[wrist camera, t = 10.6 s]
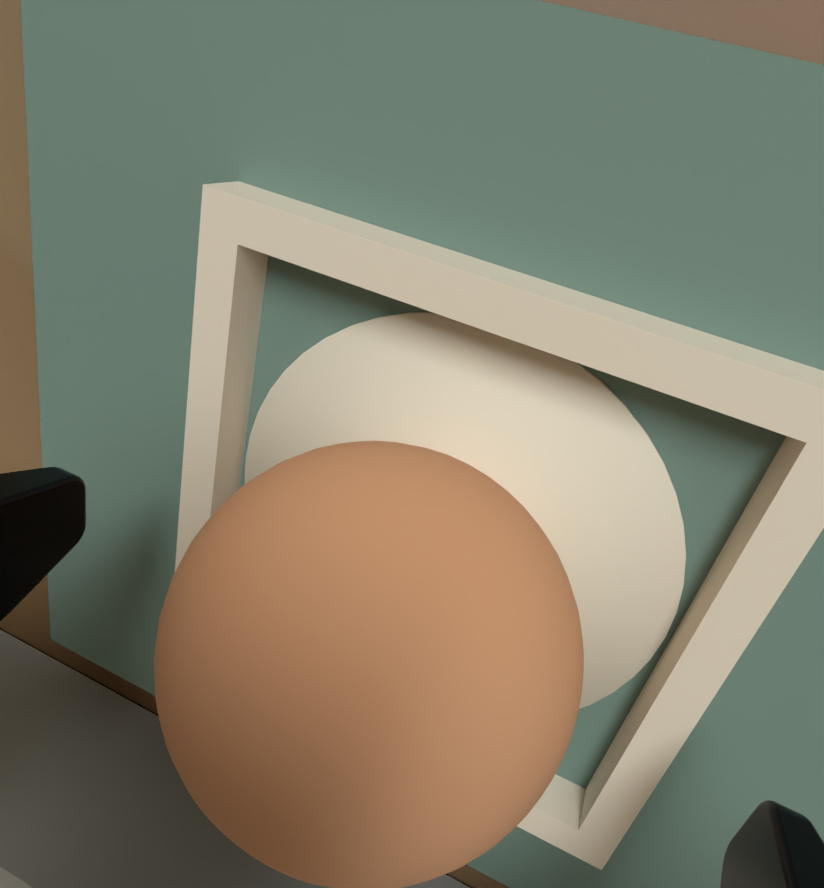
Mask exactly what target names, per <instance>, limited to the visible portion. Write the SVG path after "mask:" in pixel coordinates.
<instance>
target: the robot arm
mask: <svg viewBox="0 0 824 888" xmlns="http://www.w3.org/2000/svg"><path fill="white" fill-rule="evenodd" d="M85 528H86V488H85V483H84V481H83V479H81V478H80V477H79V476H77V475H75V474H73V473H70V472H68V471H66V470H64V469H62V468H58V467H46V468H39V469H32V470H24V471H17V472H10V473H3V474H0V621H1V620H2V619H3V618H4V617H5V616H6V615H7V614H9V613H10V612H11V611H12V610H13V609H14V608H15V607H16V606H17V605H18V604H19V602H20V601H21V600H22V599H23V598H24V597H25V596H26V595H27V594H28V593H29V592H30V591H31V590H32V589H33V588H34V587H35V586H36V585H37V584H38V583H39V582H40V581H41V580H42V579H43V578H44V577H45V576H46V575H47V574H48V573H49V572H50V571H51V570H52V569H53V568H54V567H55V566H56V565H57V564H58V563H59V562H60V561H61V560H62V559H63V558H64V557H65V556H66V555H67V554H68V553H69V552H70V551H71V550H72V549H73V548H74V547H75V546H76V545H77V543H78V542H79V541H80V539H81V538H82V536H83V534H84V532H85ZM720 888H824V842H823V840H822V839H821V837H820V835H819V834H818V832H817V830H816V829H815V827H814V826H813V824H812V823H811V822H810V820H809V819H808V818H807V817H805V816H804V815H802V814H800V813H798V812H796V811H794V810H792V809H790V808H787V807H785V806H783V805H781V804H779V803H777V802H775V801H771V800H766V801H763V802H761V803H760V804H759V805H758V806H757V807H756V809H755V810H754V811H753V813H752V814H751V815H750V816H749V818H748V819H747V820H746V822H745V823H744V824H743V825H742V827H741V828H740V829H739V830H738V832H737V833H736V834H735V836H734V837H733V838H732V840H731V841H730V843H729V845H728V847H727V849H726V852H725V856H724V860H723V866H722V875H721V884H720Z"/></svg>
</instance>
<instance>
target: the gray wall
mask: <svg viewBox="0 0 824 888" xmlns="http://www.w3.org/2000/svg"><path fill="white" fill-rule="evenodd" d="M0 888H332V887H325V886H319V885H315V884H311V883H306V882H304V881H301V880H298V879H295V878H292V877H290V876H287V875H285V874H283V873H280V872H278V871H276V870H274V869H272V868H271V867H269V866H267V865H265V864H263V863H262V862H260V861H258V860H257V859H255V858H254V857H252V856H250V855H249V854H248V853H246V852H245V851H244V850H242V849H241V848H239V847H238V846H237V845H236V844H234V843H233V842H232V841H231V840H230V839H228V838H227V837H226V836H225V835H224V834H223V833H222V832H221V831H220V830H219V829H218V828H217V827H216V826H215V825H214V824H213V823H212V822H211V821H210V820H209V819H208V818H207V817H206V815H205V814H204V813H203V812H202V810H201V809H200V808H199V807H198V805H197V804H196V803H195V801H194V800H193V798H192V797H191V795H190V794H189V792H188V790H187V789H186V787H185V785H184V783H183V781H182V779H181V777H180V775H179V773H178V771H177V769H176V767H175V765H174V763H173V761H172V759H171V756H170V754H169V752H168V749H167V746H166V743H165V740H164V736H163V733H162V729H161V724H160V720H159V717H158V716H157V715H155V714H153V713H151V712H149V711H148V710H146V709H144V708H142V707H140V706H138V705H137V704H135V703H133V702H131V701H129V700H127V699H126V698H124V697H122V696H120V695H118V694H117V693H115V692H113V691H111V690H109V689H107V688H106V687H104V686H102V685H100V684H98V683H97V682H95V681H93V680H91V679H89V678H87V677H86V676H84V675H82V674H80V673H78V672H77V671H75V670H73V669H71V668H69V667H67V666H66V665H64V664H62V663H60V662H58V661H57V660H55V659H53V658H51V657H49V656H47V655H46V654H44V653H42V652H40V651H38V650H36V649H35V648H33V647H31V646H29V645H27V644H26V643H24V642H22V641H20V640H18V639H16V638H15V637H13V636H11V635H9V634H7V633H6V632H4V631H2V630H0ZM400 888H470V887H468V886H466V885H464V884H462V883H461V882H459V881H457V880H455V879H453V878H451V877H450V876H448V875H446V874H445V875H443V876H440V877H437V878H434V879H431V880H428V881H425V882H422V883H419V884H415V885H411V886H407V887H400Z"/></svg>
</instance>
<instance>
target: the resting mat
mask: <svg viewBox="0 0 824 888" xmlns="http://www.w3.org/2000/svg"><path fill="white" fill-rule="evenodd" d="M21 18H22V40H23V61H24V83H25V104H26V126H27V147H28V169H29V190H30V212H31V233H32V255H33V277H34V298H35V320H36V341H37V363H38V384H39V406H40V427H41V449H42V468H46V467H58V468H62V469H64V470H66V471H68V472H70V473H73V474H75V475H77V476H79V477H80V478H81V479H83V481H84V483H85V488H86V528H85V532H84V534H83V536H82V538H81V539H80V541H79V542H78V543H77V545H76V546H75V547H74V548H73V549H72V550H71V551H70V552H69V553H68V554H67V555H66V556H65V557H64V558H63V559H62V560H61V561H60V562H59V563H58V564H57V565H56V566H55V567H54V568H53V569H52V570H51V571H50V572H49V573H48V574H47V578H48V599H49V621H50V639H51V640H53V641H55V642H56V643H58V644H60V645H62V646H64V647H66V648H67V649H69V650H71V651H73V652H75V653H77V654H78V655H80V656H82V657H84V658H86V659H88V660H90V661H91V662H93V663H95V664H97V665H99V666H101V667H102V668H104V669H106V670H108V671H110V672H112V673H114V674H115V675H117V676H119V677H121V678H123V679H125V680H126V681H128V682H130V683H132V684H134V685H136V686H138V687H139V688H141V689H143V690H145V691H147V692H149V693H150V694H152V695H154V696H155V683H154V653H155V645H156V638H157V631H158V624H159V617H160V614H161V611H162V608H163V605H164V601H165V598H166V595H167V592H168V589H169V586H170V583H171V580H172V577H173V575H174V573H175V571H176V570H177V568H178V566H179V564H180V562H181V560H182V558H183V556H184V554H185V552H186V551H187V549H188V547H189V545H190V543H191V541H192V540H193V539H194V538H195V536H196V535H197V534H198V532H199V531H200V530H201V528H202V527H203V526H204V524H205V523H206V522H207V521H208V519H209V518H210V517H211V516H212V515H213V513H214V512H215V511H216V510H217V509H218V508H219V507H220V506H221V505H222V504H223V503H224V502H225V501H226V500H227V499H228V498H230V497H231V496H232V495H233V494H234V493H235V492H236V491H238V490H239V489H240V488H241V487H242V486H243V485H245V484H246V483H247V482H248V481H250V480H252V479H253V478H255V477H256V476H258V475H260V474H261V473H263V472H265V471H266V470H268V469H270V468H271V467H273V466H275V465H276V464H278V463H280V462H282V461H285V460H287V459H290V458H292V457H295V456H298V455H300V454H303V453H306V452H308V451H311V450H313V449H316V448H321V447H325V446H330V445H335V444H340V443H348V442H359V441H387V442H398V443H404V444H409V445H414V446H419V447H424V448H428V449H431V450H435V451H438V452H441V453H444V454H447V455H449V456H452V457H454V458H456V459H458V460H460V461H462V462H465V463H467V464H469V465H471V466H472V467H474V468H476V469H477V470H479V471H481V472H482V473H484V474H485V475H487V476H489V477H490V478H491V479H493V480H494V481H495V482H497V483H498V484H499V485H500V486H502V487H503V488H504V489H506V490H507V491H508V492H509V493H510V494H511V495H512V496H513V497H514V498H515V499H516V500H517V501H518V502H519V503H520V504H522V505H523V506H524V507H525V509H526V510H527V511H528V512H529V514H530V515H531V516H532V517H533V518H534V520H535V521H536V522H537V523H538V525H539V526H540V527H541V529H542V530H543V531H544V533H545V534H546V536H547V538H548V539H549V541H550V542H551V544H552V546H553V547H554V549H555V550H556V552H557V554H558V556H559V558H560V560H561V562H562V565H563V567H564V569H565V571H566V573H567V576H568V579H569V582H570V585H571V588H572V591H573V594H574V598H575V601H576V604H577V608H578V611H579V617H580V624H581V631H582V639H583V649H584V673H583V685H582V695H581V701H580V706H579V711H578V716H577V720H576V723H575V727H574V730H573V733H572V737H571V740H570V742H569V745H568V747H567V750H566V752H565V755H564V757H563V760H562V762H561V764H560V766H559V768H558V770H557V771H556V773H555V775H554V777H553V779H552V781H551V783H550V784H549V786H548V787H547V789H546V790H545V792H544V793H543V795H542V796H541V798H540V799H539V800H538V802H537V803H536V804H535V806H534V807H533V808H532V809H531V811H530V812H529V813H528V815H527V816H526V817H525V818H524V819H523V820H522V821H521V822H520V823H519V824H518V825H517V826H516V827H515V828H514V829H513V830H512V831H511V832H510V833H509V834H508V835H506V836H505V837H504V838H503V839H502V840H501V841H500V842H499V843H497V844H496V845H495V846H494V847H492V848H491V849H490V850H488V851H487V852H485V853H484V854H482V855H481V856H479V857H477V858H476V859H474V860H472V861H471V862H469V863H467V864H466V865H468V866H470V867H472V868H473V869H475V870H477V871H479V872H481V873H483V874H484V875H486V876H488V877H490V878H492V879H494V880H496V881H497V882H499V883H501V884H503V885H505V886H507V887H508V888H720V884H721V875H722V866H723V860H724V856H725V852H726V849H727V847H728V845H729V843H730V841H731V840H732V838H733V837H734V836H735V834H736V833H737V832H738V830H739V829H740V828H741V827H742V825H743V824H744V823H745V822H746V820H747V819H748V818H749V816H750V815H751V814H752V813H753V811H754V810H755V809H756V807H757V806H758V805H759V804H760V803H761V802H763V801H766V800H771V801H775V802H777V803H779V804H781V805H783V806H785V807H787V808H790V809H792V810H794V811H796V812H798V813H800V814H802V815H804V816H805V817H807V818H808V819H809V820H810V822H811V823H812V824H813V826H814V827H815V829H816V830H817V832H818V834H819V835H820V837H821V839H822V840H823V842H824V65H821V64H816V63H812V62H808V61H803V60H799V59H794V58H790V57H786V56H781V55H777V54H772V53H768V52H764V51H759V50H755V49H750V48H746V47H742V46H737V45H733V44H728V43H724V42H720V41H715V40H711V39H706V38H702V37H698V36H693V35H689V34H684V33H680V32H676V31H671V30H667V29H662V28H658V27H654V26H649V25H645V24H640V23H636V22H632V21H627V20H623V19H618V18H614V17H610V16H605V15H601V14H596V13H592V12H588V11H583V10H579V9H574V8H570V7H566V6H561V5H557V4H552V3H548V2H544V1H539V0H21Z"/></svg>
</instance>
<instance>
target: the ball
mask: <svg viewBox="0 0 824 888" xmlns="http://www.w3.org/2000/svg"><path fill="white" fill-rule="evenodd" d="M583 673H584V649H583V639H582V631H581V624H580V617H579V611H578V608H577V604H576V601H575V598H574V594H573V591H572V588H571V585H570V582H569V579H568V576H567V573H566V571H565V569H564V567H563V565H562V562H561V560H560V558H559V556H558V554H557V552H556V550H555V549H554V547H553V546H552V544H551V542H550V541H549V539H548V538H547V536H546V534H545V533H544V531H543V530H542V529H541V527H540V526H539V525H538V523H537V522H536V521H535V520H534V518H533V517H532V516H531V515H530V514H529V512H528V511H527V510H526V509H525V507H524V506H523V505H522V504H520V503H519V502H518V501H517V500H516V499H515V498H514V497H513V496H512V495H511V494H510V493H509V492H508V491H507V490H506V489H504V488H503V487H502V486H500V485H499V484H498V483H497V482H495V481H494V480H493V479H491V478H490V477H489V476H487V475H485V474H484V473H482V472H481V471H479V470H477V469H476V468H474V467H472V466H471V465H469V464H467V463H465V462H462V461H460V460H458V459H456V458H454V457H452V456H449V455H447V454H444V453H441V452H438V451H435V450H431V449H428V448H424V447H419V446H414V445H409V444H404V443H398V442H387V441H359V442H348V443H340V444H335V445H330V446H325V447H321V448H316V449H313V450H311V451H308V452H306V453H303V454H300V455H298V456H295V457H292V458H290V459H287V460H285V461H282V462H280V463H278V464H276V465H275V466H273V467H271V468H270V469H268V470H266V471H265V472H263V473H261V474H260V475H258V476H256V477H255V478H253V479H252V480H250V481H248V482H247V483H246V484H245V485H243V486H242V487H241V488H240V489H239V490H238V491H236V492H235V493H234V494H233V495H232V496H231V497H230V498H228V499H227V500H226V501H225V502H224V503H223V504H222V505H221V506H220V507H219V508H218V509H217V510H216V511H215V512H214V513H213V515H212V516H211V517H210V518H209V519H208V521H207V522H206V523H205V524H204V526H203V527H202V528H201V530H200V531H199V532H198V534H197V535H196V536H195V538H194V539H193V540H192V541H191V543H190V545H189V547H188V549H187V551H186V552H185V554H184V556H183V558H182V560H181V562H180V564H179V566H178V568H177V570H176V571H175V573H174V575H173V577H172V580H171V583H170V586H169V589H168V592H167V595H166V598H165V601H164V605H163V608H162V611H161V614H160V617H159V624H158V631H157V638H156V645H155V653H154V683H155V699H156V705H157V712H158V716H159V720H160V724H161V729H162V733H163V736H164V740H165V743H166V746H167V749H168V752H169V754H170V756H171V759H172V761H173V763H174V765H175V767H176V769H177V771H178V773H179V775H180V777H181V779H182V781H183V783H184V785H185V787H186V789H187V790H188V792H189V794H190V795H191V797H192V798H193V800H194V801H195V803H196V804H197V805H198V807H199V808H200V809H201V810H202V812H203V813H204V814H205V815H206V817H207V818H208V819H209V820H210V821H211V822H212V823H213V824H214V825H215V826H216V827H217V828H218V829H219V830H220V831H221V832H222V833H223V834H224V835H225V836H226V837H227V838H228V839H230V840H231V841H232V842H233V843H234V844H236V845H237V846H238V847H239V848H241V849H242V850H244V851H245V852H246V853H248V854H249V855H250V856H252V857H254V858H255V859H257V860H258V861H260V862H262V863H263V864H265V865H267V866H269V867H271V868H272V869H274V870H276V871H278V872H280V873H283V874H285V875H287V876H290V877H292V878H295V879H298V880H301V881H304V882H306V883H311V884H315V885H319V886H325V887H332V888H400V887H407V886H411V885H415V884H419V883H422V882H425V881H428V880H431V879H434V878H437V877H440V876H443V875H445V874H447V873H450V872H452V871H454V870H457V869H459V868H461V867H462V866H464V865H466V864H467V863H469V862H471V861H472V860H474V859H476V858H477V857H479V856H481V855H482V854H484V853H485V852H487V851H488V850H490V849H491V848H492V847H494V846H495V845H496V844H497V843H499V842H500V841H501V840H502V839H503V838H504V837H505V836H506V835H508V834H509V833H510V832H511V831H512V830H513V829H514V828H515V827H516V826H517V825H518V824H519V823H520V822H521V821H522V820H523V819H524V818H525V817H526V816H527V815H528V813H529V812H530V811H531V809H532V808H533V807H534V806H535V804H536V803H537V802H538V800H539V799H540V798H541V796H542V795H543V793H544V792H545V790H546V789H547V787H548V786H549V784H550V783H551V781H552V779H553V777H554V775H555V773H556V771H557V770H558V768H559V766H560V764H561V762H562V760H563V757H564V755H565V752H566V750H567V747H568V745H569V742H570V740H571V737H572V733H573V730H574V727H575V723H576V720H577V716H578V711H579V706H580V701H581V695H582V685H583Z"/></svg>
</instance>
